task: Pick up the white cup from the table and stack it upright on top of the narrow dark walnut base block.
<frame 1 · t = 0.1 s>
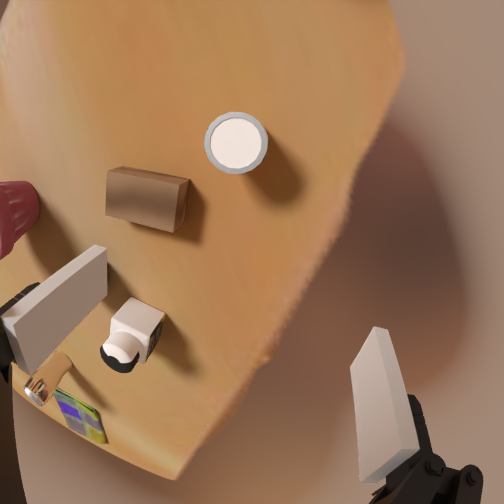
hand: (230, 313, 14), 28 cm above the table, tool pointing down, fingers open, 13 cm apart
medicine bottle: (145, 317, 52), on the table
white cup: (246, 140, 37), on the table
walnut base block: (152, 193, 42), on the table
plant pot: (27, 202, 46), on the table
dish towel: (82, 415, 77), on the table
beer glass: (64, 359, 63), on the table
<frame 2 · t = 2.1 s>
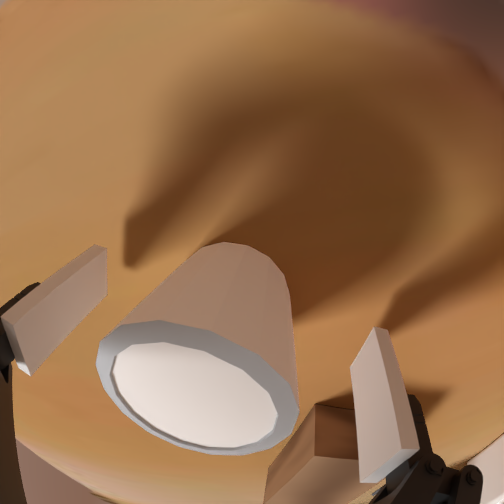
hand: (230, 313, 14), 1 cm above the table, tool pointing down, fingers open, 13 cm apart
medicine bottle: (501, 443, 19), on the table
white cup: (232, 293, 15), on the table
walnut base block: (327, 448, 20), on the table
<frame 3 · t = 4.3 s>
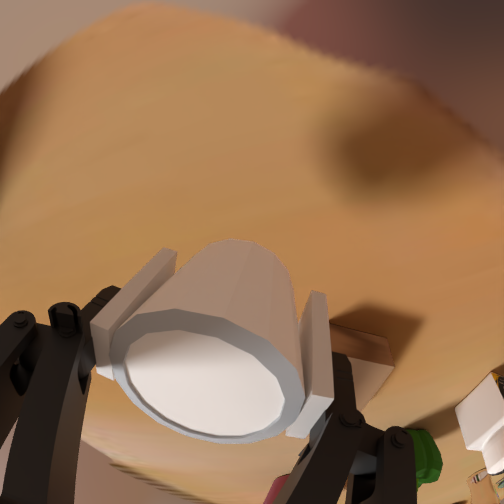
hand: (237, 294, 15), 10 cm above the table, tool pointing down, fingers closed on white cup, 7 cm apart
bell pepper: (407, 436, 32), on the table
medicine bottle: (485, 393, 27), on the table
white cup: (238, 288, 16), point 9 cm above the table, touching gripper
walnut base block: (334, 371, 28), on the table
plant pot: (300, 482, 40), on the table
beer glass: (478, 473, 36), on the table
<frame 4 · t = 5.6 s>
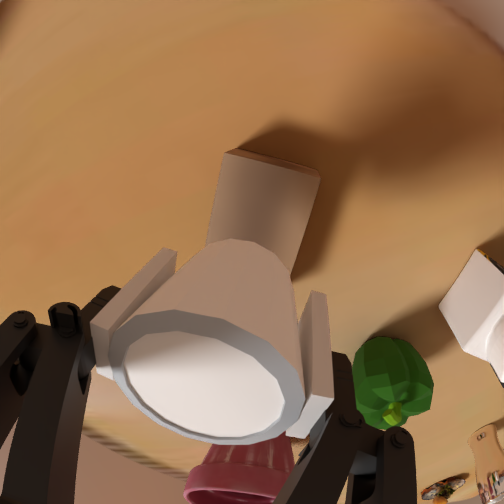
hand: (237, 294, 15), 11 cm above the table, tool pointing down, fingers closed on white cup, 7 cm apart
bell pepper: (381, 352, 29), on the table
medicine bottle: (475, 288, 24), on the table
white cup: (238, 288, 16), point 10 cm above the table, touching gripper
walnut base block: (259, 222, 25), on the table
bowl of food: (442, 484, 44), on the table
plant pot: (257, 429, 37), on the table
beer glass: (481, 432, 34), on the table
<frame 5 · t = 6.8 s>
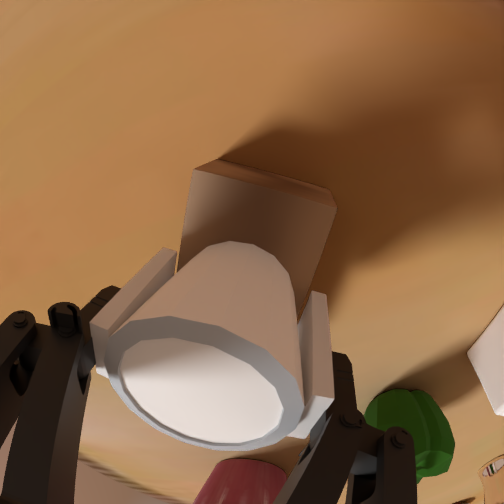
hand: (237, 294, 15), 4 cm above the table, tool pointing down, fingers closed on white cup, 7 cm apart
bell pepper: (396, 402, 22), on the table
white cup: (237, 291, 15), point 4 cm above the table, touching gripper, walnut base block
walnut base block: (250, 259, 19), on the table
plant pot: (251, 471, 31), on the table
beer glass: (492, 463, 27), on the table
when the fingers open (4 cm above the table, at t = 7.4 s): white cup stays where it is, resting on walnut base block.
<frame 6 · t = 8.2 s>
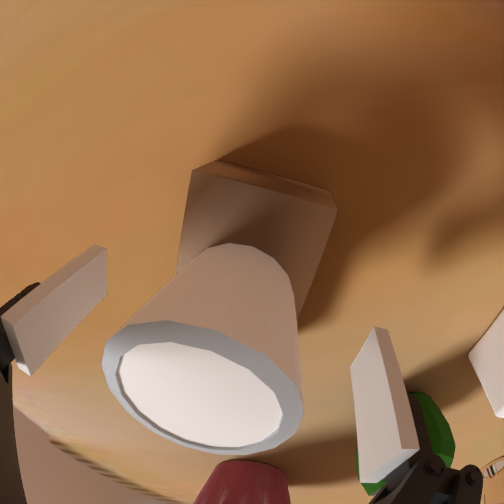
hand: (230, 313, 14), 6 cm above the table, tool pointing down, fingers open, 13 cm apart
bell pepper: (397, 404, 22), on the table
white cup: (237, 294, 15), point 4 cm above the table, touching walnut base block
walnut base block: (249, 261, 19), on the table
plant pot: (251, 472, 31), on the table
beer glass: (492, 464, 27), on the table
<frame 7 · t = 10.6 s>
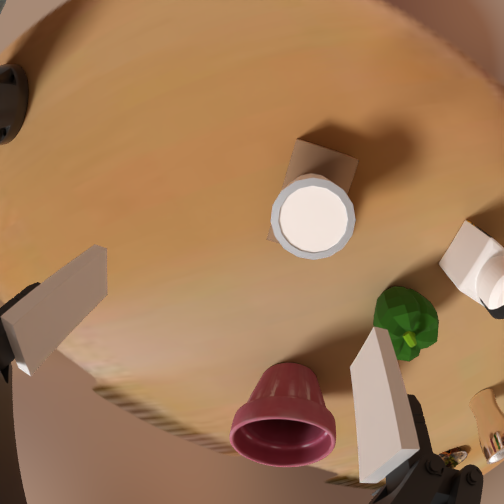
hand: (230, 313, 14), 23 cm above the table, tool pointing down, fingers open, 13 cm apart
bell pepper: (396, 301, 37), on the table
medicine bottle: (467, 252, 33), on the table
white cup: (311, 200, 30), point 4 cm above the table, touching walnut base block
walnut base block: (311, 192, 34), on the table
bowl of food: (446, 457, 52), on the table
plant pot: (289, 380, 46), on the table
beer glass: (480, 397, 42), on the table
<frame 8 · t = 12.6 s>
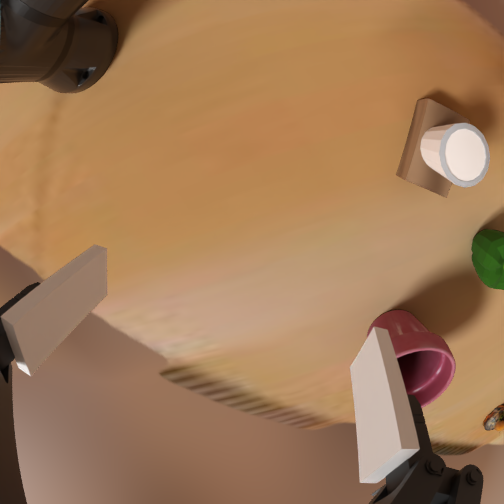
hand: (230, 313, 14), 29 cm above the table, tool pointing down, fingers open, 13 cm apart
bell pepper: (483, 245, 37), on the table
white cup: (439, 148, 30), point 4 cm above the table, touching walnut base block
walnut base block: (427, 146, 34), on the table
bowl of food: (499, 412, 52), on the table
plant pot: (392, 330, 46), on the table
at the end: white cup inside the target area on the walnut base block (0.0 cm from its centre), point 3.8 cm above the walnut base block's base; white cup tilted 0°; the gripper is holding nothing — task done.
